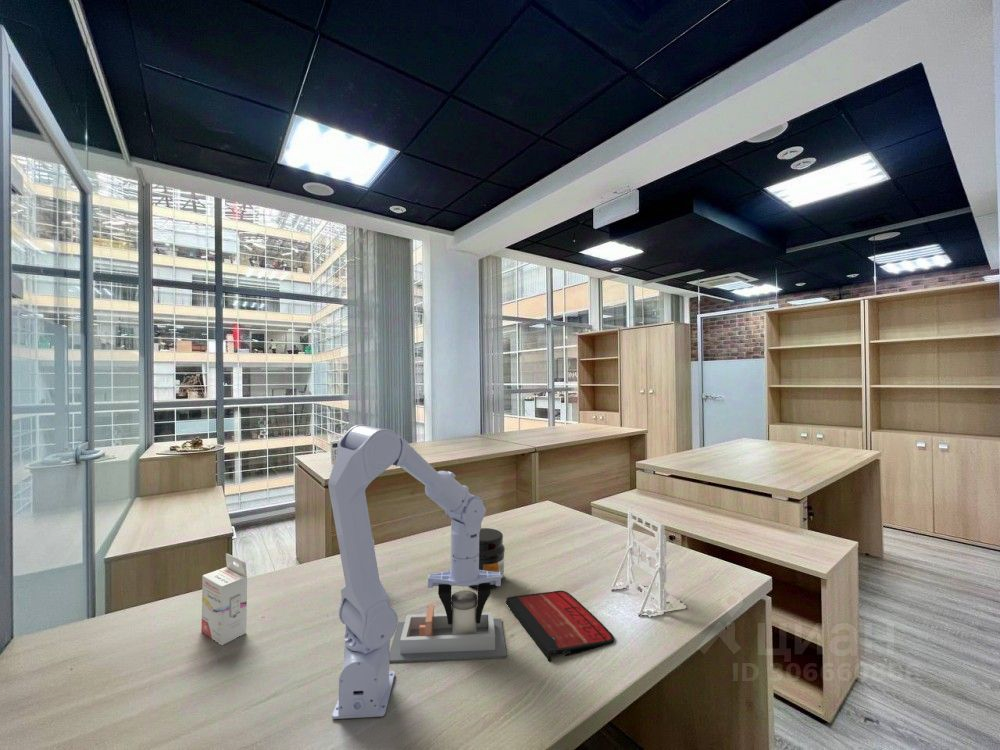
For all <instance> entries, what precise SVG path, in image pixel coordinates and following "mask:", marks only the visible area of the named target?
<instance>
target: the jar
mask: <svg viewBox="0 0 1000 750" xmlns="http://www.w3.org/2000/svg"><path fill="white" fill-rule="evenodd" d="M477 599H478V593H477V592H475V591H472V590H467V589H466V590H465V589H463V590H457V591H456V592H453V594H451V605H452V635H469V634H476V625H477Z"/></svg>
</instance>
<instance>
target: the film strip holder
mask: <svg viewBox="0 0 1000 750" xmlns="http://www.w3.org/2000/svg"><path fill="white" fill-rule="evenodd" d="M634 516H635V517H636V518H635V519H634ZM639 519H641V521H642V522H639ZM646 523H648V524H649V527H648V526H647V524H646ZM635 524H636V525H638V526H640V527H642V528H643V529H644V530H645V529H646V530H647V531H649V533H653V534H654V538H655V541H656V544H657V546H656V548H655V550H653V549H651V548H649V547H648V546H646V545H644V544H643V543H642V542H640V541H639V540H637V539H636V538H635V536H634V531H633V528H634V525H635ZM653 527H655V528H657V531H655V530H654V528H653ZM665 527H666V525H665V524H664V523H660V522H658V521H655V520H654V519H652V518H650V517H648V516H646V515H644V514H642V513H640V512H638V511H636V510H634V509H633V508H632V507H628V511H627V542H626V543H627V544H626V546H625V550H626V552H625V553H624V557H623V558H622V561H621V563H620V566H619V567H618V570H617V573H616V575H615V578H614V580H613V582H612V585H611V586H612V587H615V585H617V586H621V585H625V584H624V583H623V581H619V582H618V580H619V577H620V574H621V572H622V570H623V567H624V565H625V562H626V559H627V563H626V565H627V567H626V568H627V571H626V572H627V573H626V574H627V575H626V576H627V577H626V580H627V582H628V583H629V584H632V583H636V588H635V587H634V588H635V589H636V590H638V591H639V592H640V591H642V594H643V595H644V596H645V598H644V599H643V601H642V603H641V606H640V609H639V610H636V611H635V614H636V613H637V614H638V615H640V614H644V613H647V614H648V615H651V614H655V613H658V612H661V611H657V610H656V609H654V608H653V607H651V608H646V609H645V607H646V604H647V600H649V601H650V602H651V603H653V604H654V605H655V606H656V608H658V609H660V610H666V608H667V603H666V595H667V589H666V588H665V583H667V562H665V557H667V535H666V534H665V533H666V532H665V530H666V529H665ZM634 547H635V548H637V556H636V555H634ZM643 553H645V556H646V557H645V558H646V560H645V561H643V557H642V554H643ZM652 559H653V560H655V564H654V568H653V567H652V562H651V561H652ZM634 565H637V566H638V567H639V568H641V570H643V571H645V572H646V573H648V574H649V575H651V576H652V578H651V580H650V581H651V584H650V585H649V587H644V586H642V585H641V584H640V583H639V582H638V580H636V579H635V575H634V572H633V566H634ZM654 582H655V583H656V586H657V590H656V593H655V595H654V594H653V593H651V590H652V587H653V583H654ZM619 583H620V584H621V585H620V584H619ZM638 586H639V588H641V590H640V589H639V588H638ZM645 591H646V592H647V593H646V595H645ZM640 593H641V592H640ZM649 595H650V599H649V598H648V597H649ZM652 598H654V599H656V600H657V605H656V604H655V603H654V602H652ZM640 616H641V615H640Z"/></svg>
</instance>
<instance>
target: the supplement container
mask: <svg viewBox="0 0 1000 750" xmlns="http://www.w3.org/2000/svg"><path fill="white" fill-rule="evenodd" d="M505 550H506V548H505V545H504V535H503V533H502V531H500V530H498V529H494V528H489V527H488V528H487V527H484V528H483V527H481V529H480V532H479V570H484V571H491V572H500V574H501V584H502V582H504V579H505ZM470 587H472V588H474V589H478V585H471V586H470ZM493 587H494V588H496V587H497V586H495V584H492V585H490V589H494V588H493Z"/></svg>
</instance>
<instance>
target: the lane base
mask: <svg viewBox="0 0 1000 750" xmlns="http://www.w3.org/2000/svg"><path fill="white" fill-rule="evenodd" d="M426 615H427V613H418V614H414V613H413V614H406V617H405V620H404V621H398V624H397V628H396V631H395V633H394V635H393V636H394V637H393V640H392V643H391V646H390V659H389V664H390V663H411V662H412V663H413V662H435V661H438V662H439V661H458V660H479V659H480V660H482V659H483V660H484V659H485V660H486V659H504V658H506V659H507V651H506V645H505V643H506V642H505V637H504V636H505V635H504V629H503V622H502V618H494V612H493V611H482V614H481V619H480V623H477V625H476V634H469V635H452V624H448V619H447V615H446V612H443V613H434V631H433V636H419V627H420V625H425V620H426Z"/></svg>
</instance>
